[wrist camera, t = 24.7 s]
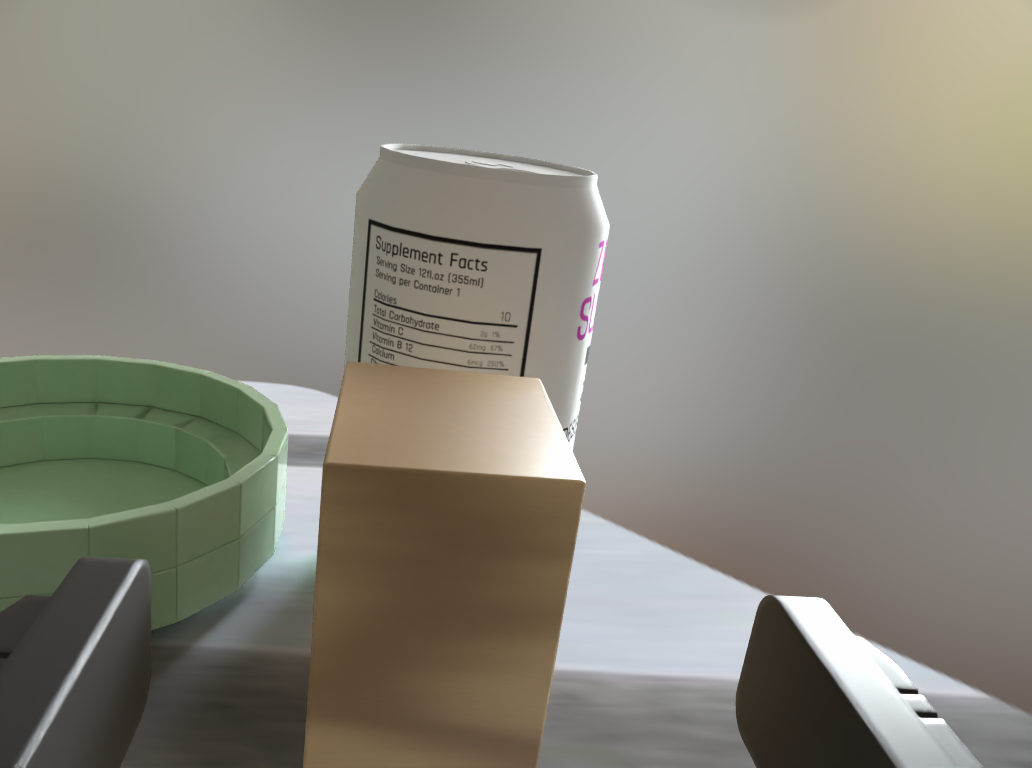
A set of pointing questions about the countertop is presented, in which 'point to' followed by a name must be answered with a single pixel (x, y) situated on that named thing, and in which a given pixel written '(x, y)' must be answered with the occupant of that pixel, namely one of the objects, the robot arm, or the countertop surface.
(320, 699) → the light brown wooden block
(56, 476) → the bowl
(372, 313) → the supplement can
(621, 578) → the countertop surface
